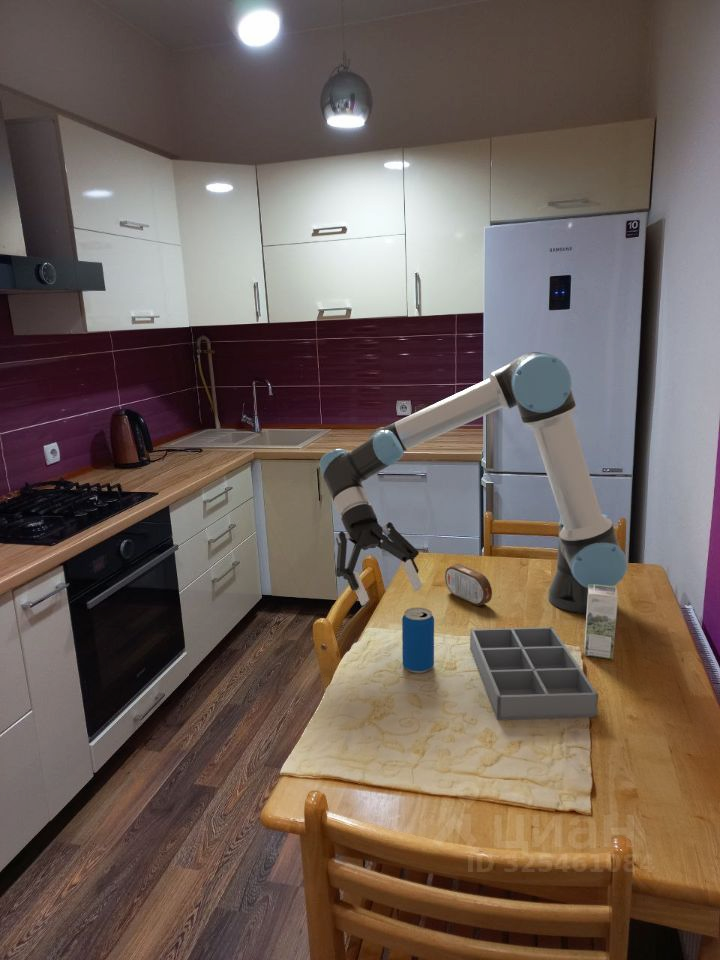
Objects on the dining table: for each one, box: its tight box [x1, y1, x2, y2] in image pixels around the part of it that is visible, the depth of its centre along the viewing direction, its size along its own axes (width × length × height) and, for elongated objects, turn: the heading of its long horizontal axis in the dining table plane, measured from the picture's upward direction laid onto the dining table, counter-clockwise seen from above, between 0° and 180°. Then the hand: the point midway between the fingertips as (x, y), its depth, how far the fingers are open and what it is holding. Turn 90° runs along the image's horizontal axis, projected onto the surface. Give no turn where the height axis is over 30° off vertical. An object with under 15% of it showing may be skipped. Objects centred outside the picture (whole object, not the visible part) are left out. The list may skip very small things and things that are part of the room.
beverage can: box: [401, 606, 435, 674], centre depth 132 cm, size 6×6×12 cm
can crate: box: [469, 626, 599, 721], centre depth 127 cm, size 18×26×4 cm
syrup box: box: [584, 584, 619, 660], centre depth 136 cm, size 6×6×14 cm
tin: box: [444, 563, 493, 607], centre depth 164 cm, size 15×3×8 cm, turn 34°
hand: (392, 595), depth 137 cm, fingers open, 13 cm apart
